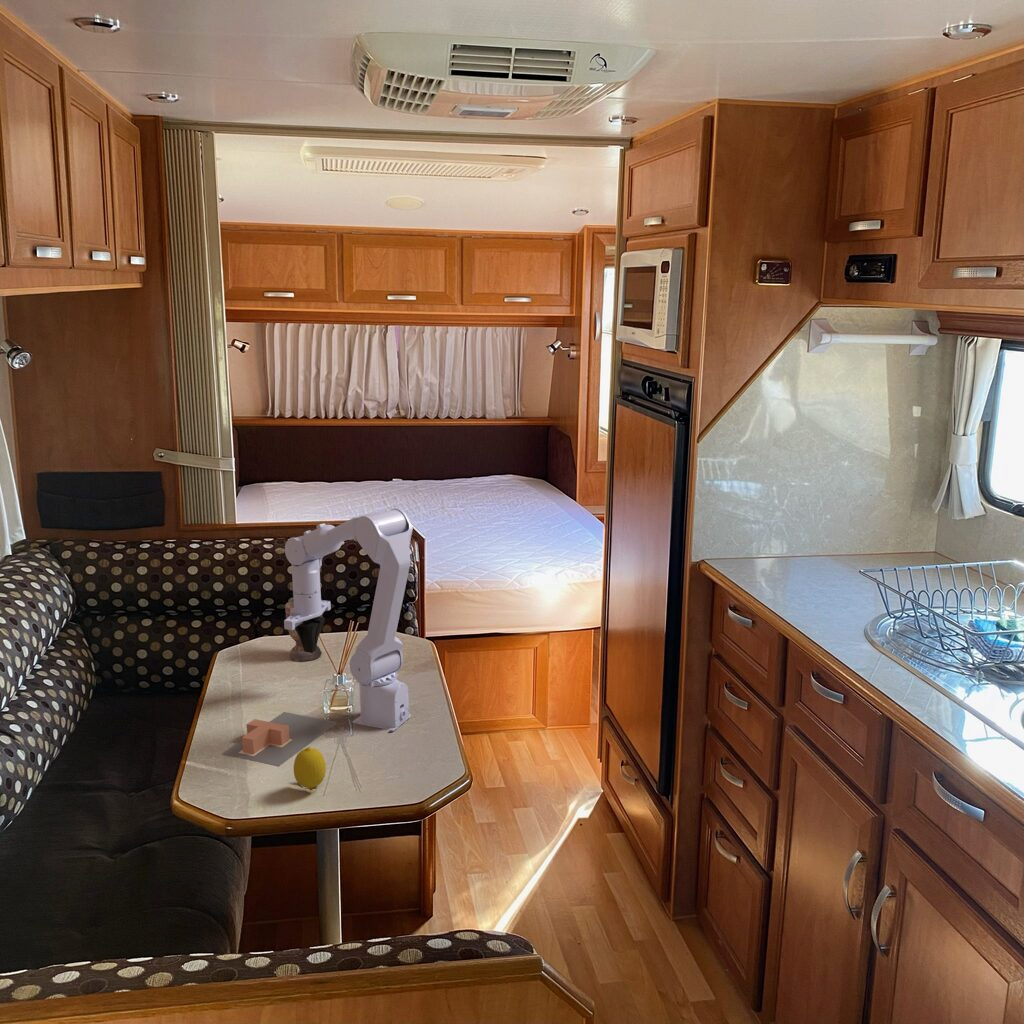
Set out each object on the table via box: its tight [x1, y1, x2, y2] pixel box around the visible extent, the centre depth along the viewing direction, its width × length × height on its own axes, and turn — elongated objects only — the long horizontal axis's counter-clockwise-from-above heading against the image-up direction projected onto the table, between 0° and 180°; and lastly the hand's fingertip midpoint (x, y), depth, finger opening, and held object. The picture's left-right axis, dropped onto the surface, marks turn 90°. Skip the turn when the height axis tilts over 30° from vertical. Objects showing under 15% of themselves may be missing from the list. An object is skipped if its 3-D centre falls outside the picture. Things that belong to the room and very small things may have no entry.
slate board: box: [221, 711, 339, 767], centre depth 189 cm, size 13×20×1 cm, turn 158°
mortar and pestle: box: [284, 600, 323, 662], centre depth 232 cm, size 12×9×20 cm
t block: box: [241, 718, 290, 754], centre depth 186 cm, size 8×8×3 cm
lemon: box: [293, 746, 327, 791], centre depth 170 cm, size 6×6×8 cm
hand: (309, 651), depth 209 cm, fingers closed
